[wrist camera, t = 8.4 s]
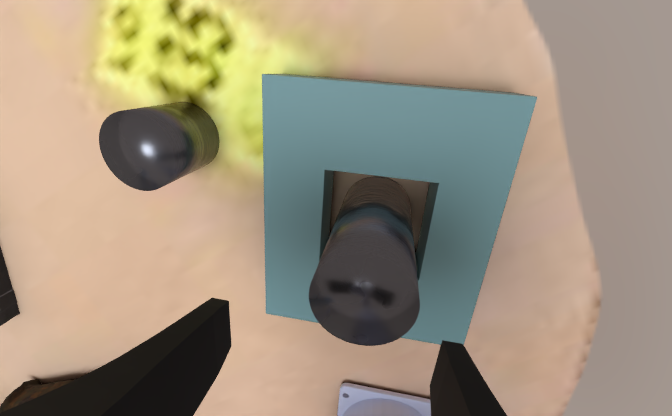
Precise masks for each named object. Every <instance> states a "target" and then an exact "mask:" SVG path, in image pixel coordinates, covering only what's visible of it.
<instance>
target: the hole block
mask: <svg viewBox="0 0 672 416" xmlns="http://www.w3.org/2000/svg"><path fill="white" fill-rule="evenodd" d="M262 98H263V160H264V221H265V282H266V313H267V314H272V315H278V316H283V317H289V318H295V319H300V320H306V321H311V322H317V323H319V322H318V321H317V319H316V318H315V316H314V314H313V312H312V310H311V307H310V303H309V288H310V284H311V281H312V279H313V276H314V274H315V271H316V269H317V266H318V264H319V261H320V259H321V256H322V254H323V251H324V249H325V247H326V244H327V242H328V239H329V231H330V217H331V203H332V189H333V175H334V171H341V172H349V173H358V174H366V175H374V176H383V177H391V178H400V179H408V180H417V181H425V182H430V184H429V189H428V194H427V199H426V204H425V209H424V215H423V220H422V225H421V230H420V235H419V240H418V246H417V251H416V253H415V259H416V268H417V278H418V288H419V298H420V310H419V314H418V318H417V320H416V322H415V324H414V325H413V326H412V328H411V329H410V330H409V331H408V332H407V333H406V334H405V335H403V336H402V337H401V338H406V339H412V340H418V341H423V342H429V343H434V344H440V345H441V343H442V340H444V341H450V342H455V343H461V344H463V345H464V342H465V339H466V335H467V332H468V328H469V325H470V322H471V318H472V315H473V312H474V308H475V305H476V301H477V298H478V295H479V291H480V288H481V285H482V281H483V278H484V275H485V271H486V268H487V264H488V261H489V258H490V254H491V251H492V248H493V244H494V241H495V238H496V234H497V231H498V227H499V224H500V221H501V217H502V214H503V211H504V207H505V204H506V201H507V197H508V194H509V190H510V187H511V184H512V180H513V177H514V174H515V170H516V167H517V163H518V160H519V157H520V153H521V150H522V147H523V143H524V140H525V137H526V133H527V130H528V126H529V123H530V120H531V116H532V113H533V110H534V106H535V103H536V100H537V97H535V96H529V95H524V94H518V93H511V92H499V91H487V90H474V89H462V88H450V87H438V86H426V85H413V84H401V83H389V82H377V81H364V80H352V79H340V78H328V77H316V76H303V75H291V74H262Z"/></svg>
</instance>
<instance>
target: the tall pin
mask: <svg viewBox="0 0 672 416" xmlns="http://www.w3.org/2000/svg"><path fill="white" fill-rule="evenodd" d="M309 303H310V307H311V310H312V312H313V314H314V316H315V318H316V319H317V321H318V322H319V323H320V324H321V325H322V327H324V328H325V329H326V330H327V331H328V332H330V333H331V334H332V335H334V336H336V337H337V338H339V339H342V340H344V341H346V342H349V343H353V344H358V345H366V346H373V345H382V344H386V343H389V342H392V341H395V340H397V339H399V338H400V337H402V336H403V335H405V334H406V333H407V332H408V331H409V330H410V329H411V328H412V326H413V325H414V324H415V322H416V320H417V318H418V314H419V310H420V298H419V288H418V278H417V268H416V259H415V249H414V239H413V229H412V219H411V209H410V202H409V198H408V196H407V194H406V192H405V190H404V189H403V188H402V187H401V186H400V185H399V184H398V183H396V182H395V181H393V180H391V179H388V178H385V177H378V176H374V177H368V178H365V179H362V180H360V181H358V182H357V183H355V184H354V185H353V186H352V187H351V188H350V190H349V191H348V193H347V195H346V197H345V200H344V202H343V204H342V207H341V209H340V212H339V214H338V217H337V219H336V222H335V224H334V227H333V229H332V232H331V234H330V237H329V239H328V242H327V244H326V247H325V249H324V251H323V254H322V256H321V259H320V261H319V264H318V266H317V269H316V271H315V274H314V276H313V279H312V281H311V284H310V288H309Z"/></svg>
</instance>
